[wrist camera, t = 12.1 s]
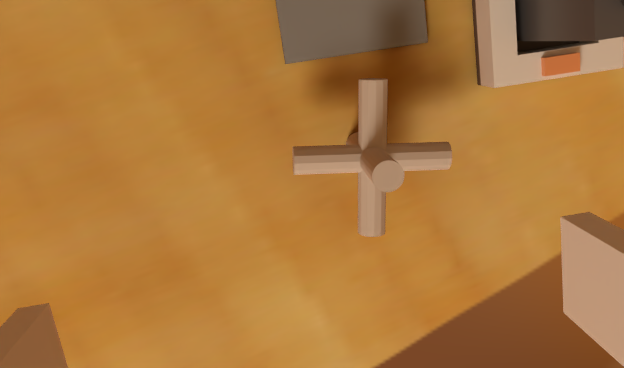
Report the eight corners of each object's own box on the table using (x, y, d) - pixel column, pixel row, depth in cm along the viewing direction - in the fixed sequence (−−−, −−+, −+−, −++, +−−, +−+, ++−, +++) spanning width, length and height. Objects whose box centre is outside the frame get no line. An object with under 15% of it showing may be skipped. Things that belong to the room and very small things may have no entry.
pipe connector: (428, 73, 40) (481, 83, 30) (423, 207, 42) (470, 256, 33) (287, 76, 39) (296, 87, 29) (291, 212, 41) (300, 264, 32)
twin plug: (509, -19, 38) (631, -49, 26) (566, -27, 38) (714, -61, 26) (512, 41, 39) (630, 40, 27) (568, 32, 39) (711, 28, 27)
